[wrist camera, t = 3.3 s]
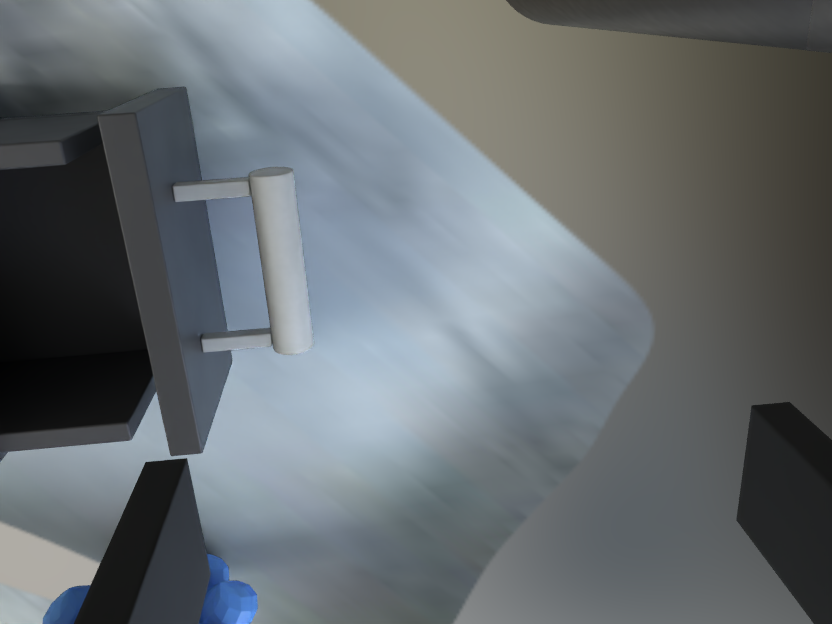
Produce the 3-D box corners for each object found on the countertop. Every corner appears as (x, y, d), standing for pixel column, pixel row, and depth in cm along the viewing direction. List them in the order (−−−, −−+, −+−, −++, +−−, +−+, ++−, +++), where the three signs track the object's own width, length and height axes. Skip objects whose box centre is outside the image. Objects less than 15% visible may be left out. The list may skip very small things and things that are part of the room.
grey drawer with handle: (293, 79, 30) (276, 102, 23) (324, 353, 35) (318, 443, 28) (-187, 111, 29) (-361, 145, 22) (-87, 389, 34) (-204, 492, 27)
